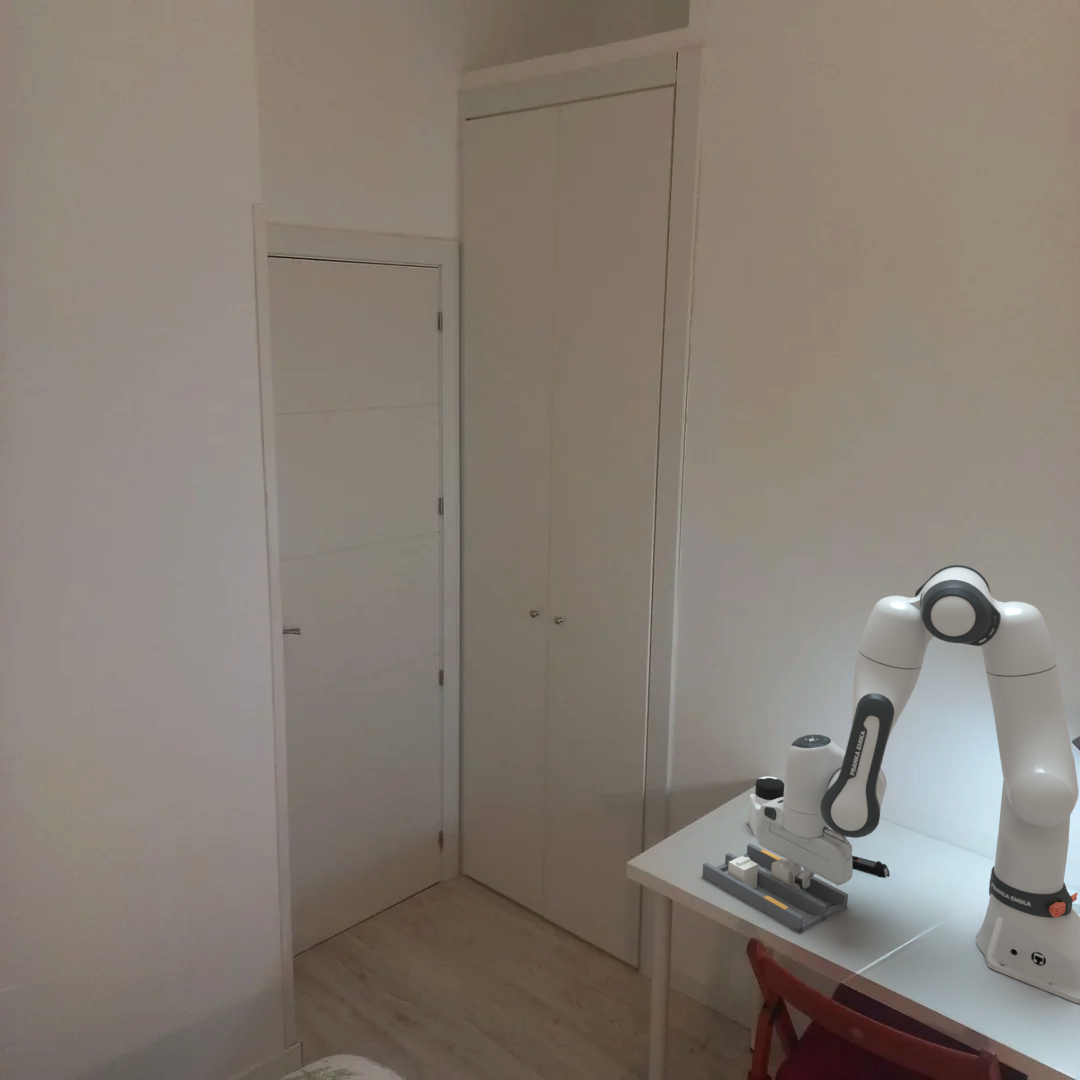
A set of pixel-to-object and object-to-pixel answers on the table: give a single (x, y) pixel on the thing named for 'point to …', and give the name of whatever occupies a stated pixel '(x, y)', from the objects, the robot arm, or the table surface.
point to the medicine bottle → (763, 798)
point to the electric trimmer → (870, 866)
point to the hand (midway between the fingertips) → (801, 884)
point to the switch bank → (778, 892)
